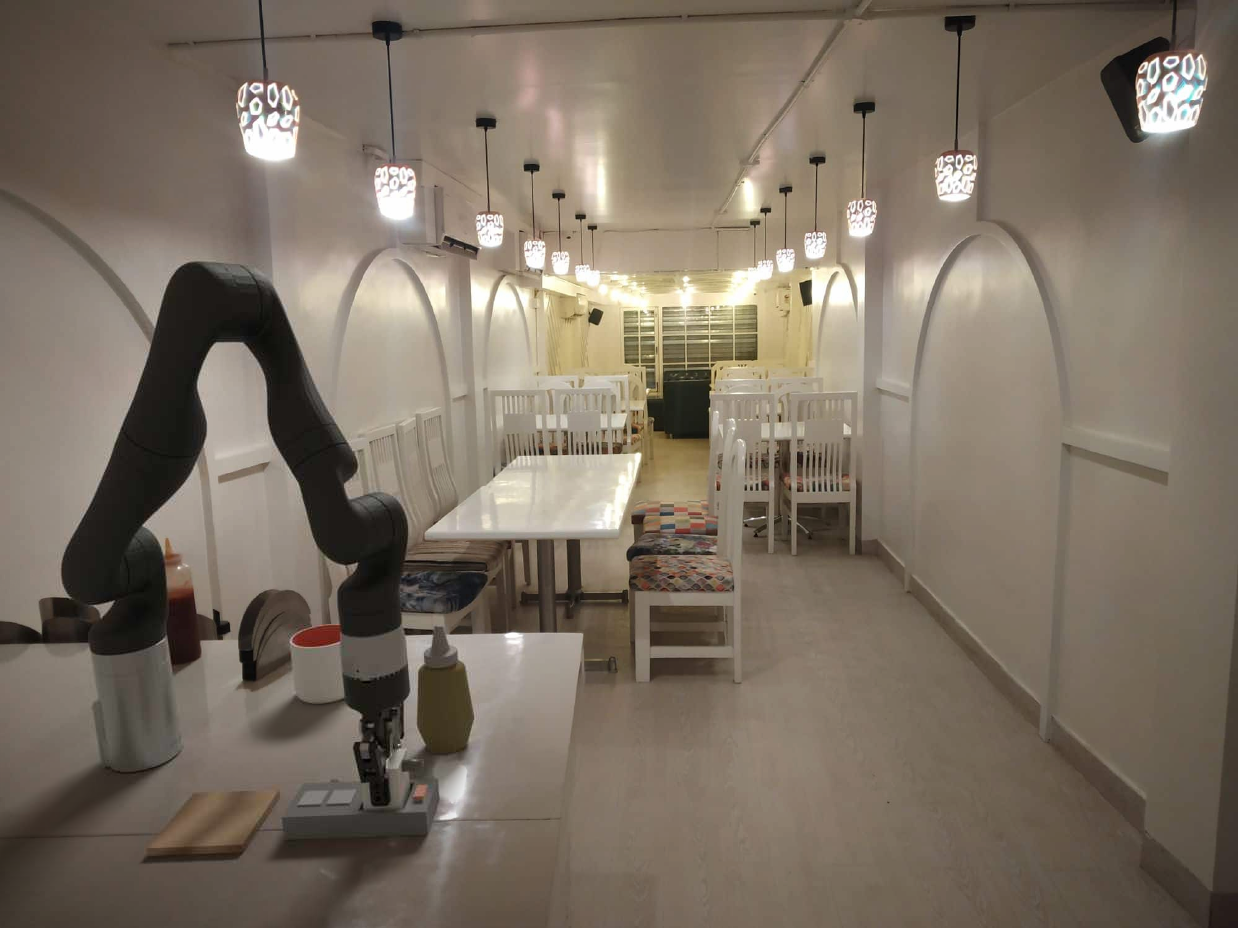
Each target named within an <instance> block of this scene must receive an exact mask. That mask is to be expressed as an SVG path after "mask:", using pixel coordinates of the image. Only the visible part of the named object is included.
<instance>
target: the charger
mask: <svg viewBox="0 0 1238 928" xmlns="http://www.w3.org/2000/svg"><path fill="white" fill-rule="evenodd" d="M379 750H386V749H379ZM381 761H382V760H381ZM424 763H425V762H424V758H415V759H410V758H409V759H408V748H401V749H393V754H392V755H391V756H390V757H389V785H390V796H391V801H390V803H389V805H388V806H378V807H374V806H372V805H371V798H370V788H369V782H368V783H361V788H362V798H363V808H364V810H390V809H404V808H405V806H406V803H407V801H408V798H409V796H410V793H411V792H410V781H409V779H410V773H412V772H413V773H415V772H423V771H424V768H425V767H424V766H425V765H424ZM409 772H410V773H409Z"/></svg>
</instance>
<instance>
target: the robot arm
mask: <svg viewBox="0 0 1238 928" xmlns="http://www.w3.org/2000/svg"><path fill="white" fill-rule="evenodd" d="M160 303H161V304H160V308H159V312H158V316H157V318H156V319H157V320H156V323H155V328H154V330H153V331H154V332H153V336H152V339H151V343H150V348H149V351H148V356H147V357H146V361H145V365H144V368H143V370H142V373H141V375H140V378H139V381H138V384H137V385H138V386H137V387H136V391H135V393H134V396H133V399H132V401H131V403H130V406H129V408H128V410H127V413H126V415H125V416H124V419H123V422H122V425H121V426H120V428H119V429H120V430H119V432H118V434H117V438H116V440H115V442H114V444H113V448H112V451H111V454H110V458H109V460H108V462H107V465H106V468H105V470H104V472H103V474H102V477H101V479H100V481H99V483H98V486H97V489H96V491H95V493H94V495H93V497H92V500H91V501H90V504H89V506H88V508H87V509H86V511H85V513H84V515H83V517H82V518H81V520H80V522H79V524H78V525H77V527H76V529H75V531H74V533H73V534H72V536H71V538H70V539H69V542H68V544H67V546H66V547H65V550H64V553H63V555H62V560H61V564H60V576H61V584H62V586H63V588H64V590H65V592H66V595H68V597H69V598H70V599H71V600H73V601H74V602H76V603H78V604H81V605H83V606H84V605H85V606H98V605H99V606H100V605H104V604H108V603H111V602H113V603H112V604H111V606H110V607H109V609H108V610H107V612H106V613H105V614H104V615H103V616H102V617H101V618H99V619H98V620H97V621H96V622H95V623H94V624H93V625H92V626H90V627H91V628H90V629H89V631H88V637H87V639H88V645H89V646H88V647H89V651H90V658H91V664H92V668H93V669H92V670H93V675H94V681H95V688H96V693H97V694H96V695H97V699H96V700H95V701H94V702H93V703H92V705H91V710H92V715H93V716H92V717H93V722H94V729H95V736H96V741H97V745H98V746H97V748H98V752H99V758H100V764H101V765H100V766H101V768H105V767H104V766H109V767H111V768H110V769H111V770H112V769H113V770H112V771H115V772H118V771H120V772H121V773H133V772H139V771H144V770H145V771H146V770H149V769H151V768H155V767H157V766H159V765H163V764H165V763H166V762H168V761H170V760H171V759H174V756H175V757H176V756H177V755H179V754H180V752H179V751H182V749H181V748H183V741H182V732H181V726H180V718H179V717H180V716H179V710H178V704H177V698H176V697H177V695H176V690H175V682H174V676H173V668H172V667H173V666H172V662H171V660H172V659H171V655H170V654H171V653H170V648H169V640H168V635H167V634H168V633H167V626H166V625H167V622H168V618H169V614H170V613H169V612H170V606H169V604H170V603H169V595H168V582H167V581H168V580H167V568H166V561H165V556H164V552H163V549H162V547H161V544H160V542H159V540H158V539H157V537H156V536H155V534H154V533H153V532H152V531H151V530H150V529H148V528H147V527H146V526H143V525H144V524H145V523H146V522H147V521H148V520H149V519H150V518H151V517H152V516H153V515H154V514H155V513H157V512H158V511H159V510H160V509H161V508H162V507H163V506H164V505H165V504H166V503H167V502H168V501H169V500H171V498H173V497H174V495H175V494H176V493H177V492H178V491H179V490H180V488H181V487H182V486H184V484H185V483H186V481H187V480H188V479H189V477H190V475H191V474H192V472H193V470H194V468H195V466H196V464H197V461H198V459H199V456H200V454H201V452H202V450H203V447H204V444H205V442H206V440H207V435H208V433H207V432H208V421H207V417H206V413H205V410H204V406H203V404H202V399H201V397H200V393H199V389H198V381H199V377H200V374H201V371H202V368H203V365H204V362H205V360H206V358H207V356H208V354H209V352H210V350H211V348H212V347H213V346H214V345H215V344H216V343H219V344H220V343H243V344H244V345H245V346H246V348H247V349H248V350H249V352H250V353H251V354H252V355H253V356H254V358H255V359H256V361H257V362H258V364H259V366H260V368H261V370H262V373H263V376H264V380H265V386H266V416H267V424H268V428H269V433H270V436H271V437H272V438H271V439H272V441H273V443H274V444H275V447H276V448H277V451H278V452H279V454H280V455H281V457H282V459H283V460H284V462H285V463H286V465H287V467H288V468H289V470H290V472H291V473H292V475H293V477H294V478H295V480H296V481H297V483H298V485H299V490H300V492H301V498H302V500H303V505H304V509H305V512H306V515H307V520H308V523H309V527H310V531H311V534H312V535H311V536H312V538H313V541H314V542H315V544H316V546H317V548H318V550H320V552H321V553H322V554H323V555H324V556H325V557H326V558H327V559H328V560H329V561H331V562H333V563H335V564H337V565H342V566H350V565H355V564H357V565H356V567H355V569H354V571H353V572H352V573H351V574H350V575H349V576H347V578H346V579H344V580H343V581H342V582H341V584H339V586H338V588H337V592H336V593H337V594H336V595H337V596H336V602H337V610H338V621H339V623H338V624H340V657H341V667H342V677H343V687H344V697H345V698H344V702H345V705H346V706H347V707H348V708H349V709H351V710H353V711H356V712H357V713H359V715H361V718H360V719H359V722H358V733H359V735H360V736H361V737H360V741H354V743H353V745H352V751H353V755H354V759H355V763H356V768H357V771H358V776H359V781H361V783H368V782H369V788H370V798H371V805H372V806H374V807H378V806H388V805H389V803H390V801H391V796H390V785H389V757H390V756H391V755H392V754H393V749H402V742H401V740H403V739H404V737H405V714H404V713H405V712H404V711H405V708H404V707H405V701H406V700H407V699H408V697H409V696H410V693H411V685H410V673H409V659H408V652H407V651H408V649H407V639H406V634H405V630H404V625H403V617H402V615H403V614H402V602H401V595H400V589H401V588H400V587H401V581H402V578H403V574H404V569H405V562H406V556H407V551H408V550H407V548H408V543H409V542H408V541H409V522H408V521H409V520H408V517H407V514H406V512H405V509H404V506H403V505H402V504H401V503H400V501H399V500H398V499H397V498H396V497H394V496H393V495H392V494H389V493H387V492H385V491H384V492H383V491H375V492H370V493H367V494H364V495H361V496H357V497H355V498H351V499H349V497H348V495H347V492H346V488H345V484H346V483H347V482H348V481H350V480H351V479H352V478H353V477H354V476H355V474H356V473H357V471H358V468H359V461H358V459H357V456H356V454H355V453H354V451H353V449H352V447H351V446H350V444H349V442H348V440H347V439H346V437H345V436H344V434H343V433H342V431H341V429H340V428H339V426H338V424H337V423H336V421H335V419H334V418H333V416H332V415H331V413H330V411H329V410H328V408H327V406H326V404H325V403H324V401H323V398H322V396H321V394H320V393H319V391H318V388H317V386H316V384H315V382H314V380H313V377H312V375H311V373H310V371H309V368H308V365H307V363H306V360H305V358H304V355H303V352H302V349H301V347H300V345H299V342H298V340H297V337H296V335H295V333H294V330H293V328H292V325H291V322H290V320H289V318H288V315H287V312H286V309H285V307H284V305H283V303H282V301H281V299H280V296H279V294H278V291H277V290H276V288H275V287H274V285H273V283H272V282H271V280H270V279H269V277H268V276H267V275H266V274H265V273H263V272H262V271H261V270H259V269H257V268H255V267H253V266H249V265H244V264H238V263H237V264H236V263H229V262H227V263H226V262H215V261H204V260H203V261H202V260H201V261H200V260H199V261H197V260H196V261H195V260H194V261H189V262H185V263H183V264H182V265H180V267H178V268H177V269H176V270H175V271H174V273H173V274H172V275H171V277H170V278H169V280H168V282H167V285H166V287H165V291H164V293H163V297H162V299H161V302H160ZM379 749H386V750H379ZM381 760H382V761H381ZM109 767H108V768H109ZM120 772H119V773H120Z"/></svg>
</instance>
